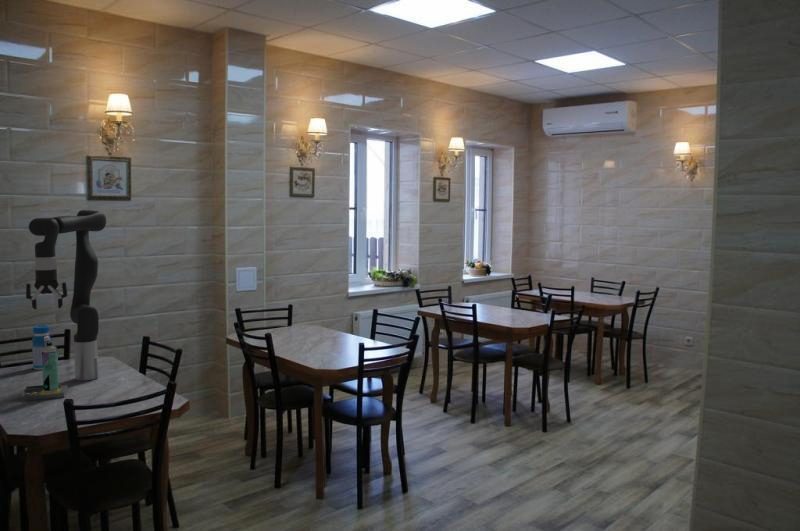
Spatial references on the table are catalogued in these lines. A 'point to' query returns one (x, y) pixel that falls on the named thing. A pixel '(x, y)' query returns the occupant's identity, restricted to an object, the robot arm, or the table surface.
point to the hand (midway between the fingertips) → (47, 308)
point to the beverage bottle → (39, 344)
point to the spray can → (50, 368)
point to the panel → (42, 393)
